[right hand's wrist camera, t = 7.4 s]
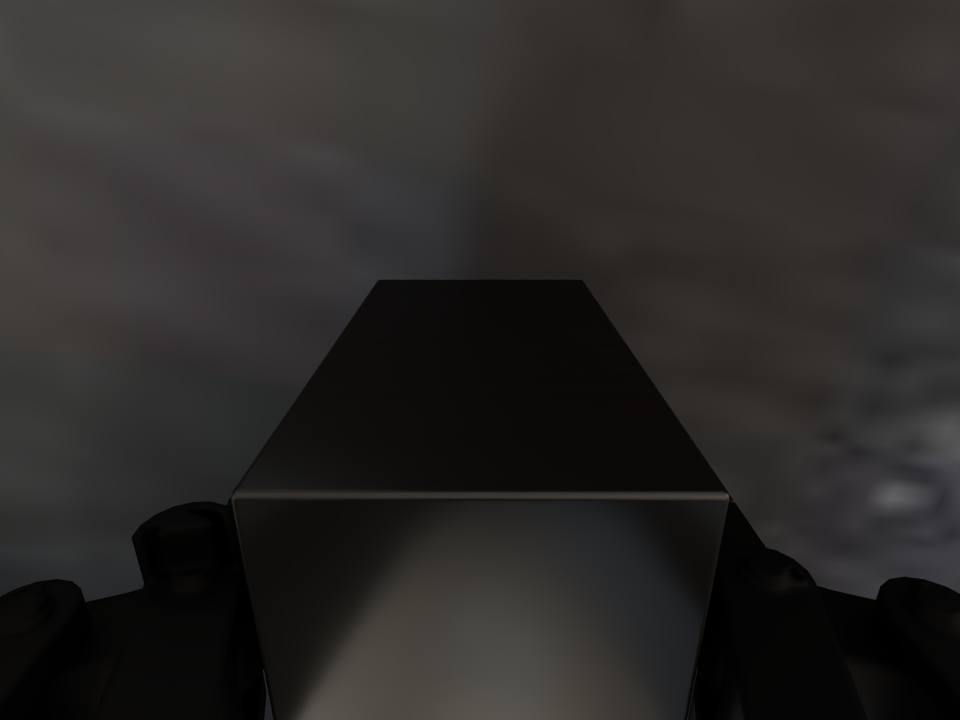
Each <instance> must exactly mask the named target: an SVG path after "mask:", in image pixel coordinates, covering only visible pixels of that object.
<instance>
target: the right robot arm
mask: <svg viewBox="0 0 960 720" xmlns="http://www.w3.org/2000/svg"><path fill="white" fill-rule="evenodd" d="M728 494H729V493H728ZM132 541H133V544H134V548H135V552H136V555H137V559H138V562H139V566H140V570H141V573H142V577H143V580H144V586H143V588H142V589H139V590H135V591H132V592H129V593H124V594H120V595H115V596H111V597H106V598H102V599H98V600H93V601H89V602H85V600H84V597H83V594H82V591H81V588H80V587H78V586H77V585H76V584H75V583H73V582H72V581H66V580H60V579H54V580H46V581H39V582H35V583H32V584H29V585H26V586H22V587H20V588H17V589H14V590H12V591H10V592H9V593H7V594H5V595H3V596H1V597H0V720H264V715H265V704H266V687H265V680H264V675H263V669H264V666H263V661H262V656H261V651H260V646H259V640H258V635H257V630H256V625H255V620H254V614H253V609H252V604H251V599H250V594H249V588H248V583H247V578H246V573H245V568H244V562H243V557H242V552H241V547H240V542H239V536H238V531H237V526H236V521H235V516H234V510H233V505H232V500H231V498H230V499H229V501H228V505H225V506H224V505H222V504H218V503H214V502H191V503H187V504H183V505H178V506H174V507H172V508H169V509H167V510H165V511H163V512H160V513H158V514H156V515H154V516H153V517H151V518H150V519H149V520H147V521H146V522H144V523H143V524H142V525H140V527H139V528H138V529H137V531H136V532H135V533H134V534H133V536H132ZM697 668H698V670H697V675H696V680H695V685H694V691H693V696H692V701H691V706H690V711H689V717H688V720H960V594H959V593H957V592H955V591H953V590H952V589H950V588H948V587H945V586H943V585H940V584H936V583H934V582H931V581H928V580H925V579H917V578H910V577H900V578H893V579H889V580H887V581H886V582H885V583H884V584H883V585H881V586H880V589H879V592H878V595H877V598H876V600H873V599H869V598H864V597H860V596H855V595H851V594H847V593H842V592H838V591H833V590H830V589H826V588H823V587H820V586H817V585H816V583H815V581H814V580H813V578H812V577H811V575H810V574H809V572H808V571H807V570H806V569H805V568H804V567H802V566H801V565H800V564H799V563H798V562H796V561H795V560H794V559H792V558H790V557H788V556H786V555H784V554H782V553H780V552H778V551H776V550H773V549H769V548H766V547H765V546H764V544H763V543H762V541H761V540H760V538H759V537H758V535H757V534H756V532H755V531H754V530H753V528H752V527H751V525H750V524H749V522H748V521H747V519H746V518H745V516H744V515H743V514H742V512H741V511H740V509H739V508H738V506H737V505H736V503H733V499H732V497H731V496H730V495H729V503H728V508H727V513H726V519H725V524H724V529H723V534H722V539H721V545H720V550H719V555H718V560H717V565H716V571H715V576H714V581H713V586H712V591H711V597H710V602H709V607H708V612H707V617H706V623H705V628H704V633H703V638H702V643H701V649H700V654H699V659H698V664H697Z"/></svg>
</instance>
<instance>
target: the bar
mask: <svg viewBox="0 0 960 720" xmlns="http://www.w3.org/2000/svg"><path fill="white" fill-rule="evenodd" d="M231 500H232V505H233V510H234V516H235V521H236V526H237V531H238V536H239V542H240V547H241V552H242V557H243V562H244V568H245V573H246V578H247V583H248V588H249V594H250V599H251V604H252V609H253V614H254V620H255V625H256V630H257V635H258V640H259V646H260V651H261V656H262V661H263V666H264V672H265V677H266V682H267V687H268V693H269V698H270V703H271V708H272V713H273V719H274V720H687V716H688V711H689V706H690V701H691V695H692V690H693V685H694V680H695V675H696V669H697V664H698V659H699V654H700V649H701V643H702V638H703V633H704V628H705V623H706V617H707V612H708V607H709V602H710V597H711V591H712V586H713V581H714V576H715V571H716V565H717V560H718V555H719V550H720V545H721V539H722V534H723V529H724V524H725V519H726V513H727V508H728V503H729V494H728V491H727V490H726V488H725V487H724V485H723V484H722V483H721V481H720V480H719V478H718V477H717V475H716V474H715V472H714V471H713V469H712V468H711V467H710V465H709V464H708V462H707V461H706V459H705V458H704V456H703V455H702V453H701V452H700V451H699V449H698V448H697V446H696V445H695V443H694V442H693V440H692V439H691V437H690V436H689V435H688V433H687V432H686V430H685V429H684V427H683V426H682V424H681V423H680V421H679V420H678V419H677V417H676V416H675V414H674V413H673V411H672V410H671V408H670V407H669V405H668V404H667V403H666V401H665V400H664V398H663V397H662V395H661V394H660V392H659V391H658V389H657V388H656V387H655V385H654V384H653V382H652V381H651V379H650V378H649V376H648V375H647V373H646V372H645V371H644V369H643V368H642V366H641V365H640V363H639V362H638V360H637V359H636V357H635V356H634V355H633V353H632V352H631V350H630V349H629V347H628V346H627V344H626V343H625V341H624V340H623V339H622V337H621V336H620V334H619V333H618V331H617V330H616V328H615V327H614V325H613V324H612V323H611V321H610V320H609V318H608V317H607V315H606V314H605V312H604V311H603V309H602V308H601V307H600V305H599V304H598V302H597V301H596V299H595V298H594V296H593V295H592V293H591V292H590V291H589V289H588V288H587V286H586V285H585V283H584V282H583V281H582V280H378V281H377V283H376V284H375V286H374V287H373V288H372V290H371V291H370V293H369V294H368V296H367V297H366V299H365V300H364V302H363V303H362V304H361V306H360V307H359V309H358V310H357V312H356V313H355V315H354V316H353V318H352V319H351V320H350V322H349V323H348V325H347V326H346V328H345V329H344V331H343V332H342V334H341V335H340V336H339V338H338V339H337V341H336V342H335V344H334V345H333V347H332V348H331V350H330V351H329V352H328V354H327V355H326V357H325V358H324V360H323V361H322V363H321V364H320V366H319V367H318V368H317V370H316V371H315V373H314V374H313V376H312V377H311V379H310V380H309V382H308V383H307V384H306V386H305V387H304V389H303V390H302V392H301V393H300V395H299V396H298V397H297V399H296V400H295V402H294V403H293V405H292V406H291V408H290V409H289V411H288V412H287V413H286V415H285V416H284V418H283V419H282V421H281V422H280V424H279V425H278V427H277V428H276V429H275V431H274V432H273V434H272V435H271V437H270V438H269V440H268V441H267V443H266V444H265V445H264V447H263V448H262V450H261V451H260V453H259V454H258V456H257V457H256V459H255V460H254V461H253V463H252V464H251V466H250V467H249V469H248V470H247V472H246V473H245V475H244V476H243V477H242V479H241V480H240V482H239V483H238V485H237V486H236V488H235V489H234V491H233V493H232V496H231Z"/></svg>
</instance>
